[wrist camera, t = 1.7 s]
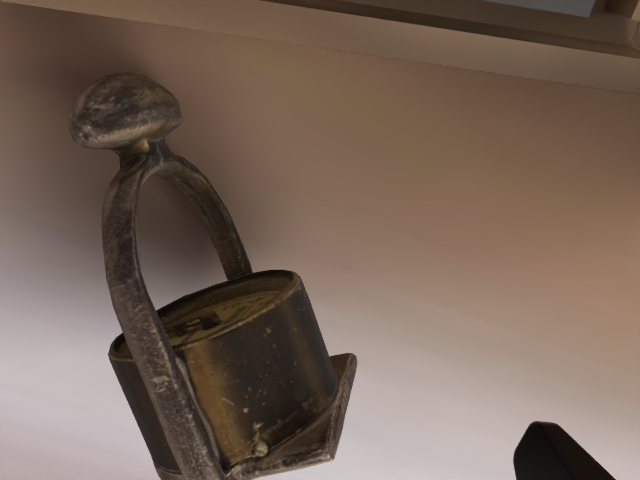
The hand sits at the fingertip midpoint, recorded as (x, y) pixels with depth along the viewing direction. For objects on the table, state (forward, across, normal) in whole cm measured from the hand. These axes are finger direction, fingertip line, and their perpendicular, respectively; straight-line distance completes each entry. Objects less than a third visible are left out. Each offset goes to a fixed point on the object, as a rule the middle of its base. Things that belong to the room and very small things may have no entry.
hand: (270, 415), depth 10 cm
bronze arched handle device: (+13, +2, +5) cm, 14 cm away
